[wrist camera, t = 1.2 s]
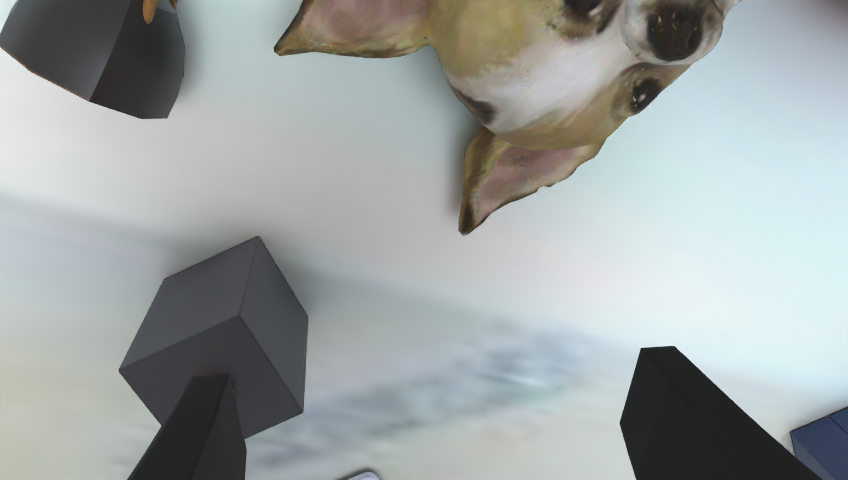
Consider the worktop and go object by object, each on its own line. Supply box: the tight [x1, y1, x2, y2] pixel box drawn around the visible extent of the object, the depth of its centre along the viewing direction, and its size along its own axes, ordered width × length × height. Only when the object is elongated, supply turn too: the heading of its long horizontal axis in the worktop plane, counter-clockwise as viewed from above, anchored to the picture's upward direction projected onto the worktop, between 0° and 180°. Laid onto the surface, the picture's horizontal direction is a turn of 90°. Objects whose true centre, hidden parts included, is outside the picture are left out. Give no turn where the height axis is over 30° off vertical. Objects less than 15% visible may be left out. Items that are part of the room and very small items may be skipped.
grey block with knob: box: [119, 236, 308, 439], centre depth 22 cm, size 4×4×7 cm
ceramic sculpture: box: [274, 0, 742, 236], centre depth 19 cm, size 11×9×15 cm
